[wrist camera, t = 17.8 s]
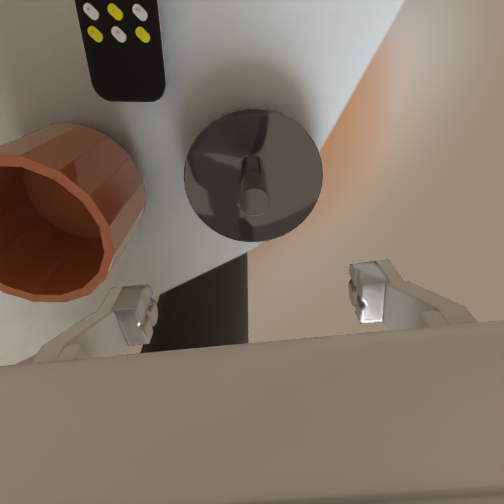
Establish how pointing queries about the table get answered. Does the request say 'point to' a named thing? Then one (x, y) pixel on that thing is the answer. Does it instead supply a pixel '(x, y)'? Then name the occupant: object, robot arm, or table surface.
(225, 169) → the jar lid
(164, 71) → the remote control
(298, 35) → the table surface
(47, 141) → the jar
